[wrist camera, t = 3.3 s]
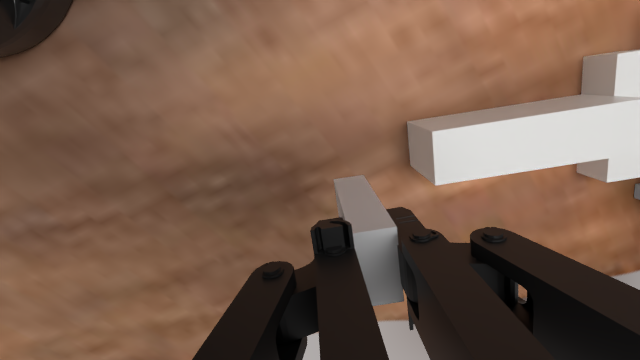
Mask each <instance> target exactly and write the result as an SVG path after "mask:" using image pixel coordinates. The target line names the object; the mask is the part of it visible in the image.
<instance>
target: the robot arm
mask: <svg viewBox="0 0 640 360" xmlns="http://www.w3.org/2000/svg"><path fill="white" fill-rule="evenodd" d="M71 2H72V0H0V57H4V56H9V55H13V54H16V53H19V52H22V51H24V50H27V49H29V48H31V47H33V46H34V45H36V44H38V43H39V42H40V41H42V40H43V39H44V38H46V37H47V36H48V35H49V34H50V33H51V32H52V31H53V30H54V29H55V28H56V27H57V26H58V24H59V23H60V22H61V20H62V19H63V17H64V16H65V14H66V12H67V10H68V8H69V6H70V4H71ZM334 186H335V193H336V200H337V207H338V214H339V218H333V219H327V220H320V221H318V222H317V224H316V225H314V226H313V227H312V228H311V231H310V232H311V238H312V244H313V249H314V258H315V259H314V260H313V261H312V262H311V263H310V264H308V265H306V266H305V267H302V268H300V269H297V270H294V267H293V266H292V264H290V263H288V262H282V261H277V262H269V263H266V264H264V265H262V266H260V267H259V268H257V269H256V270H255V271H254V272H253V273H252V274H251V275H250V277H249V278H248V280H247V281H246V283H245V284H244V286H243V287H242V288H241V290H240V291H239V293H238V294H237V296H236V297H235V299H234V300H233V301H232V303H231V304H230V306H229V307H228V309H227V310H226V312H225V313H224V314H223V316H222V317H221V319H220V320H219V322H218V323H217V325H216V326H215V327H214V329H213V330H212V332H211V333H210V335H209V336H208V338H207V339H206V340H205V342H204V343H203V345H202V346H201V348H200V349H199V351H198V352H197V353H196V355H195V356H194V358H193V359H192V360H302V359H303V355H304V353H305V349H306V346H307V336H308V335H311V334H313V333H316V332H318V331H319V344H320V360H389V358H388V355H387V352H386V348H385V345H384V342H383V339H382V336H381V332H380V329H379V326H378V322H377V319H376V316H375V313H374V309H373V306H376V305H383V304H389V303H396V302H402V301H404V296H403V289H404V291H405V293H406V295H407V305H408V316H409V326H410V330H413V324H415V326H416V329H417V331H418V333H419V335H420V338H421V340H422V342H423V344H424V346H425V349H426V351H427V353H428V355H429V358H430V360H640V290H638V289H636V288H634V287H632V286H629V285H627V284H625V283H623V282H621V281H619V280H616V279H614V278H612V277H610V276H608V275H605V274H603V273H601V272H599V271H597V270H595V269H592V268H590V267H588V266H586V265H584V264H581V263H579V262H577V261H575V260H573V259H570V258H568V257H566V256H564V255H562V254H559V253H557V252H555V251H553V250H551V249H549V248H546V247H544V246H542V245H540V244H538V243H535V242H533V241H531V240H529V239H527V238H524V237H522V236H520V235H518V234H516V233H514V232H511V231H508V230H505V229H500V228H496V227H491V228H490V227H485V228H482V229H478V230H475V231H473V232H472V233H471V234H470V243H450V242H449V241H448V240H447V239H446V238H445V237H444V236H443V235H442V234H441V233H439V232H438V231H435V230H432V229H426V228H425V227H424V226H423V225H422V224H421V222H420V221H418V219H417V218H416V216H415V215H414V214H413V213H412V212H411V210H408V209H406V208H403V207H398V208H392V209H385V208H384V206H383V204H382V203H381V201H380V200H379V198H378V197H377V195H376V194H375V192H374V190H373V189H372V187H371V186H370V184H369V183H368V181H367V180H366V178H365V176H364V175H359V176H352V177H346V178H339V179H334ZM518 284H520V285H521V286H523V287H524V288H525V289H526V290H527V301H525V300H523V299H521V298H520V297H518Z"/></svg>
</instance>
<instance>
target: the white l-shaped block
mask: <svg viewBox="0 0 640 360" xmlns="http://www.w3.org/2000/svg"><path fill="white" fill-rule="evenodd" d="M407 129H408V142H409V154H410V166H412V167H413V168H414V169H415V170H417V171H418V172H419V173H420V174H422V175H423V176H424V177H425V178H427V179H428V180H429V181H430V182H432V183H433V184H434V185H442V184H448V183H454V182H461V181H467V180H474V179H480V178H486V177H493V176H499V175H506V174H512V173H518V172H525V171H531V170H537V169H544V168H550V167H557V166H563V165H569V164H576V163H577V173H580V174H583V175H586V176H589V177H592V178H595V179H598V180H600V181H603V182H606V183H607V182H614V181H620V180H626V179H633V178H639V177H640V49H639V50H628V51H617V52H610V53H604V54H598V55H591V56H585V57H583V72H582V89H581V94H580V95H574V96H567V97H561V98H555V99H548V100H542V101H535V102H529V103H523V104H516V105H510V106H503V107H497V108H491V109H484V110H478V111H471V112H465V113H459V114H452V115H446V116H439V117H433V118H427V119H420V120H414V121H407Z"/></svg>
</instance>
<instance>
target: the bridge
mask: <svg viewBox="0 0 640 360" xmlns="http://www.w3.org/2000/svg"><path fill="white" fill-rule="evenodd" d="M634 198H636V199H639V200H640V183H639V184H635V192H634Z"/></svg>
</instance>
